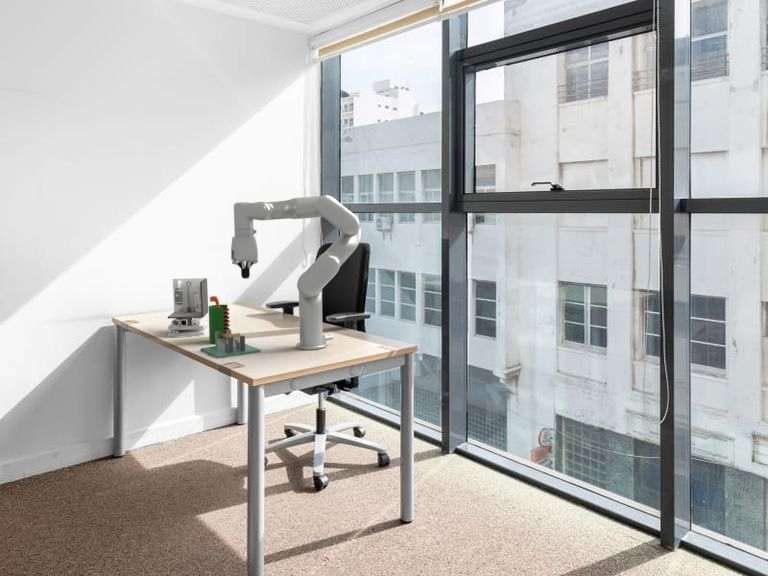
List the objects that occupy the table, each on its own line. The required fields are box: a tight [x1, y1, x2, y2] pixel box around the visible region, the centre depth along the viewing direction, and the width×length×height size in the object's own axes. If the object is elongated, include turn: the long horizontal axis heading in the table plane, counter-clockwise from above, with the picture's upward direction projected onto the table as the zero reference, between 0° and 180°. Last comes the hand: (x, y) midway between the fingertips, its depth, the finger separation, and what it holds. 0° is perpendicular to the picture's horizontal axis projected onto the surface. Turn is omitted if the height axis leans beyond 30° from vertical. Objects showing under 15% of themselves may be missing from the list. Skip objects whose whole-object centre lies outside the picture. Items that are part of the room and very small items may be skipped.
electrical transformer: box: [167, 277, 209, 337], centre depth 282 cm, size 16×19×25 cm
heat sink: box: [215, 329, 240, 352], centre depth 247 cm, size 8×12×6 cm, turn 36°
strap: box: [220, 332, 241, 339], centre depth 245 cm, size 3×14×2 cm, turn 36°
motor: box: [208, 295, 231, 345], centre depth 264 cm, size 10×9×20 cm
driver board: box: [200, 334, 262, 359], centre depth 245 cm, size 18×18×7 cm
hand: (245, 278), depth 248 cm, fingers closed
